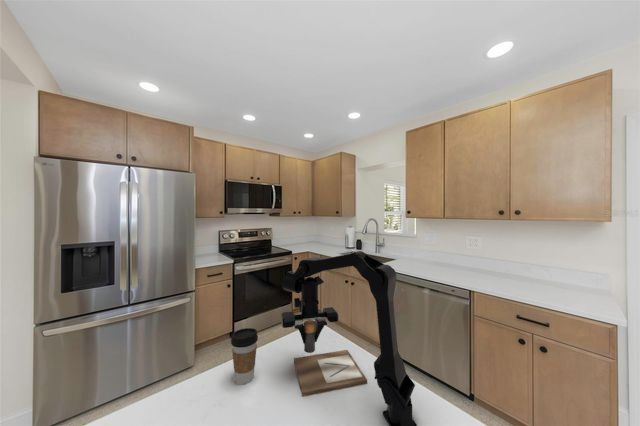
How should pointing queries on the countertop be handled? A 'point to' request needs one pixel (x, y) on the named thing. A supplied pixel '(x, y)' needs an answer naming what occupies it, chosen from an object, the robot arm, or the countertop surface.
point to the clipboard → (327, 372)
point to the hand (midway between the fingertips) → (309, 342)
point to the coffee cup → (244, 354)
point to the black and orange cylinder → (309, 336)
